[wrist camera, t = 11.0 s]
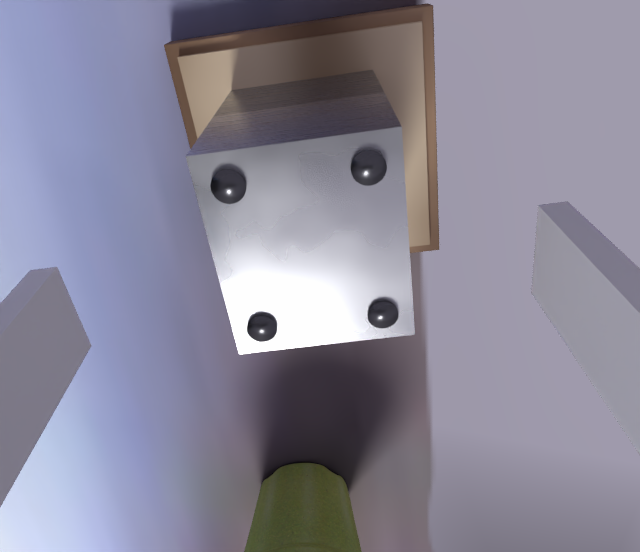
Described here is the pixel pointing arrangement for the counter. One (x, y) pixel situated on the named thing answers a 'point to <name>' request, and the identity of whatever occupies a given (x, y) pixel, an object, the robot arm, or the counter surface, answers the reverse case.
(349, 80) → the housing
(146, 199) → the counter surface
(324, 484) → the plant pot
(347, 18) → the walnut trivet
